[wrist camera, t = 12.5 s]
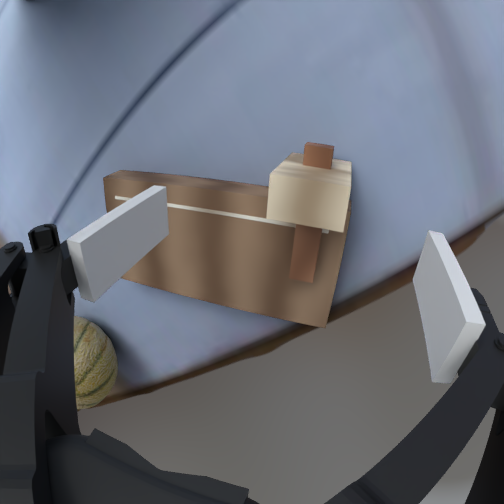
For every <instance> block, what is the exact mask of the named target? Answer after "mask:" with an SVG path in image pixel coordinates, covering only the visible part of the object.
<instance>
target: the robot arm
mask: <svg viewBox="0 0 504 504" xmlns="http://www.w3.org/2000/svg"><path fill="white" fill-rule="evenodd" d="M167 235H169V227H168V211H167V191H166V187H165V186H156V185H154V186H152V187H150V188H148V189H147V190H145V191H143V192H142V193H140V194H138V195H136V196H135V197H133V198H131V199H130V200H128V201H126V202H125V203H123V204H121V205H120V206H118V207H116V208H115V209H113V210H112V211H110V212H108V213H107V214H105V215H104V216H102V217H100V218H99V219H97V220H96V221H94V222H93V223H91V224H89V225H88V226H86V227H85V228H83V229H82V230H80V231H79V232H77V233H76V234H74V235H73V236H71V237H70V238H68V239H67V240H65V241H64V242H62V243H61V244H60V241H59V237H58V232H57V227H56V225H54V224H44V225H40V226H37V227H35V228H33V229H32V230H31V231H30V232H29V233H28V236H29V240H30V244H31V247H32V251H33V252H32V253H26V252H25V250H24V247H23V243H21V242H10V243H8V244H6V245H5V246H3V247H2V248H1V249H0V504H259V503H257V502H256V501H254V500H252V499H250V498H248V492H249V489H247V488H244V487H239V486H236V485H233V484H229V483H226V482H222V481H219V480H216V479H213V478H210V477H207V476H197V475H189V474H182V473H175V472H168V471H162V470H160V469H158V468H156V467H155V466H154V465H152V464H151V463H150V462H148V461H147V460H146V459H144V458H143V457H142V456H141V455H139V454H138V453H137V452H135V451H134V450H133V449H132V448H130V447H129V446H128V445H127V444H125V443H122V442H121V441H119V440H117V439H114V438H113V437H111V436H109V435H107V434H105V433H103V432H101V431H99V430H97V429H94V430H93V432H92V433H91V435H90V436H85V435H81V432H80V429H79V425H78V416H77V404H76V391H75V373H74V302H75V298H74V294H73V290H74V289H75V288H77V287H78V288H79V292H80V295H81V298H83V299H85V300H88V301H91V302H94V303H95V302H96V301H97V300H98V299H99V298H100V297H101V296H102V295H103V294H104V293H105V292H106V291H107V290H108V289H109V288H110V287H111V286H112V285H113V284H114V283H116V282H117V281H118V280H119V279H120V278H121V277H122V276H123V275H124V274H125V273H126V272H127V271H128V270H130V269H131V268H132V267H133V266H134V265H135V264H136V263H137V262H138V261H139V260H140V259H142V258H143V257H144V256H145V255H146V254H147V253H148V252H149V251H150V250H152V249H153V248H154V247H155V246H156V245H157V244H158V243H159V242H161V241H162V240H163V239H164V238H165V237H166V236H167ZM413 283H414V288H415V292H416V296H417V301H418V305H419V310H420V315H421V320H422V325H423V330H424V335H425V340H426V346H427V352H428V358H429V365H430V371H431V379H432V382H437V383H448V384H450V383H451V381H452V380H453V379H454V377H455V375H456V374H457V372H458V376H459V377H458V378H457V380H456V381H455V382H454V383H453V385H452V386H451V387H450V388H449V389H448V391H447V392H446V393H445V394H444V395H443V397H442V398H441V399H440V400H439V402H438V403H437V404H436V405H435V406H434V407H433V408H432V409H431V410H430V412H429V413H428V414H427V415H426V416H425V417H424V418H423V419H422V420H421V421H420V422H419V424H418V425H417V426H416V427H415V428H414V429H413V430H412V431H411V432H410V433H409V434H408V435H407V436H406V437H405V438H404V439H403V440H402V441H401V442H400V443H399V444H398V445H397V446H396V447H395V448H394V449H393V450H392V451H391V452H389V453H388V454H387V455H386V456H385V457H384V458H383V459H382V460H381V461H380V462H379V463H377V464H376V465H375V466H374V467H373V468H372V469H371V470H370V471H368V472H367V473H366V474H365V475H363V476H362V477H361V478H360V479H358V480H357V481H355V482H353V483H352V484H350V485H349V486H347V487H346V488H345V489H343V490H342V491H341V492H339V493H338V494H337V495H335V496H334V497H333V498H331V499H330V500H329V501H328V502H326V503H324V504H419V503H420V502H421V501H422V500H423V498H424V497H425V496H426V495H427V494H428V493H429V492H430V491H431V489H432V488H433V487H434V486H435V485H436V483H437V482H438V481H439V480H440V479H441V477H442V476H443V475H444V474H445V472H446V471H447V470H448V468H449V467H450V466H451V464H452V463H453V462H454V461H455V459H456V458H457V457H458V455H459V454H460V452H461V451H462V450H463V448H464V447H465V446H466V444H467V442H468V441H469V440H470V438H471V437H472V435H473V434H474V432H475V431H476V429H477V428H478V426H479V425H480V423H481V421H482V420H483V418H484V417H485V415H486V413H487V411H488V410H489V408H490V407H492V408H495V409H496V412H495V416H494V420H493V424H492V428H491V431H490V435H489V438H488V442H487V445H486V448H485V451H484V455H483V458H482V461H481V464H480V466H479V469H478V472H477V475H476V477H475V480H474V483H473V485H472V488H471V490H470V493H469V495H468V497H467V500H466V502H465V504H504V334H503V333H500V332H499V331H498V328H497V326H496V324H495V321H494V319H493V316H492V314H490V310H489V308H488V307H487V303H486V301H485V299H484V297H483V296H482V295H481V294H480V293H479V292H478V290H477V289H474V288H470V287H469V285H468V282H467V280H466V278H465V276H464V274H463V272H462V270H461V268H460V266H459V264H458V262H457V260H456V258H455V256H454V254H453V252H452V250H451V248H450V246H449V244H448V243H447V241H446V239H445V237H444V235H443V233H439V232H434V231H430V230H428V233H427V237H426V240H425V243H424V247H423V250H422V253H421V256H420V259H419V262H418V265H417V268H416V271H415V274H414V277H413ZM8 285H9V287H10V290H11V294H10V295H9V292H8Z"/></svg>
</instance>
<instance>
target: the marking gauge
mask: <svg viewBox="0 0 504 504" xmlns="http://www.w3.org/2000/svg"><path fill="white" fill-rule="evenodd" d="M333 151H334V146H330V145H324V144H317V143H310V142H307V143H306V144H305V148H304V154H299V153H291V154H290V155H289V156H288V157H287V158H286V159H285V160H284V161H283V162H282V163H281V164H280V165H279V166H278V167H277V168H276V169H274V170H273V171H272V172H271V173H270V179H269V191H268V204H267V216H266V219H271V220H277V221H283V222H288V223H294V224H296V228H295V236H294V244H293V252H292V259H291V267H290V274H289V278H290V279H295V280H300V281H305V282H310V283H313V279H314V275H315V270H316V264H317V259H318V253H319V247H320V241H321V235H322V229H327V230H332V231H338V232H343V230H344V225H345V220H346V214H347V209H348V203H349V197H350V191H351V162H349V161H343V160H338V159H333Z"/></svg>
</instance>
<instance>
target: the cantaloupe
mask: <svg viewBox="0 0 504 504" xmlns="http://www.w3.org/2000/svg"><path fill="white" fill-rule="evenodd" d="M74 373H75V391H76V404H77V409H84V408H89V407H92V406H94V405H96V404H98V403H99V402H100V401H102V400H103V399H104V398H105V397H106V396H107V395H108V394H109V392H110V391H111V389H112V387H113V386H114V384H115V380H116V377H117V374H118V361H117V356H116V353H115V349H114V347H113V344H112V342H111V340H110V338H109V337H108V336H107V335H106V334H105V333H104V331H103V330H102V329H101V328H100V327H99V326H97V325H96V324H94V323H92V322H90V321H89V320H87V319H85V318H82V317H78V316H74Z"/></svg>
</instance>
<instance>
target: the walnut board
mask: <svg viewBox="0 0 504 504" xmlns="http://www.w3.org/2000/svg"><path fill="white" fill-rule="evenodd" d="M103 181H104V192H105V201H106V210H107V213H108V212H110V211H112V210H113V209H115V208H116V207H118V206H120V205H121V204H123V203H125V202H126V201H128V200H130V199H131V198H133V197H135V196H136V195H138V194H140V193H142V192H143V191H145V190H147V189H148V188H150V187H152V186H154V185H156V186H165V187H166V191H167V211H168V227H169V235H167V236H166V237H165V238H164V239H163V240H162V241H161V242H159V243H158V244H157V245H156V246H155V247H154V248H153V249H152V250H150V251H149V252H148V253H147V254H146V255H145V256H144V257H143V258H142V259H140V260H139V261H138V262H137V263H136V264H135V265H134V266H133V267H132V268H131V269H130V270H128V271H127V272H126V273H125V274H124V275H123V276H122V277H121V278H122V279H126V280H129V281H133V282H136V283H140V284H143V285H147V286H150V287H154V288H157V289H161V290H165V291H168V292H172V293H176V294H180V295H183V296H187V297H191V298H195V299H199V300H203V301H207V302H211V303H215V304H219V305H223V306H227V307H231V308H235V309H239V310H244V311H248V312H252V313H256V314H261V315H265V316H270V317H274V318H279V319H283V320H288V321H292V322H297V323H302V324H307V325H311V326H316V327H321V328H326V324H327V320H328V316H329V312H330V308H331V304H332V300H333V295H334V291H335V287H336V283H337V278H338V274H339V269H340V265H341V260H342V255H343V250H344V246H345V241H346V236H347V231H348V225H349V220H350V215H351V200H349V203H348V209H347V214H346V220H345V225H344V230H343V232H338V231H332V230H327V229H322V235H321V241H320V247H319V253H318V259H317V264H316V270H315V275H314V279H313V283H310V282H305V281H300V280H295V279H290V278H289V274H290V267H291V259H292V252H293V244H294V236H295V228H296V224H294V223H288V222H283V221H277V220H271V219H266V216H267V204H268V191H269V187H267V186H261V185H254V184H246V183H239V182H231V181H224V180H216V179H207V178H199V177H190V176H180V175H171V174H161V173H150V172H138V171H126V170H120V171H117V172H115V173H113V174H110V175H108V176H106V177H103Z"/></svg>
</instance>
